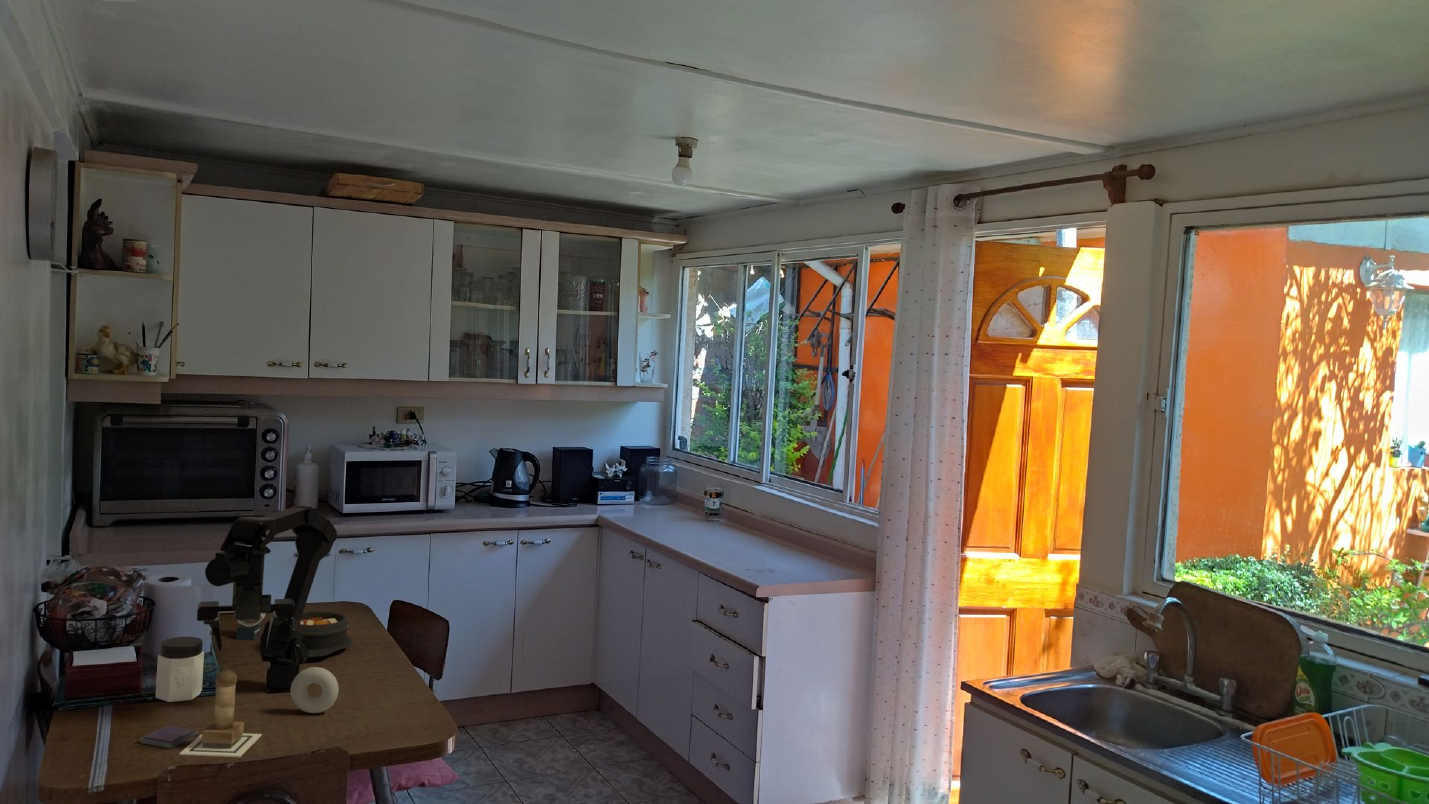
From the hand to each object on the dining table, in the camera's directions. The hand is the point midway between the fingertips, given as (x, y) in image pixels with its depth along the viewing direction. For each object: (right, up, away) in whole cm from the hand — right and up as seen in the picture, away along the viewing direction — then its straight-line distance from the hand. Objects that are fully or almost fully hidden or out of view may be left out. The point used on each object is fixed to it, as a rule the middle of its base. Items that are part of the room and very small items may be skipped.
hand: (244, 649), depth 209 cm
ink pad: (-6, -13, -18) cm, 23 cm away
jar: (-17, -12, +6) cm, 21 cm away
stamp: (+5, -14, -18) cm, 23 cm away
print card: (+5, -14, -19) cm, 24 cm away
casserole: (-4, -12, +45) cm, 47 cm away
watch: (-24, -10, +52) cm, 58 cm away
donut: (+14, -14, +1) cm, 20 cm away
